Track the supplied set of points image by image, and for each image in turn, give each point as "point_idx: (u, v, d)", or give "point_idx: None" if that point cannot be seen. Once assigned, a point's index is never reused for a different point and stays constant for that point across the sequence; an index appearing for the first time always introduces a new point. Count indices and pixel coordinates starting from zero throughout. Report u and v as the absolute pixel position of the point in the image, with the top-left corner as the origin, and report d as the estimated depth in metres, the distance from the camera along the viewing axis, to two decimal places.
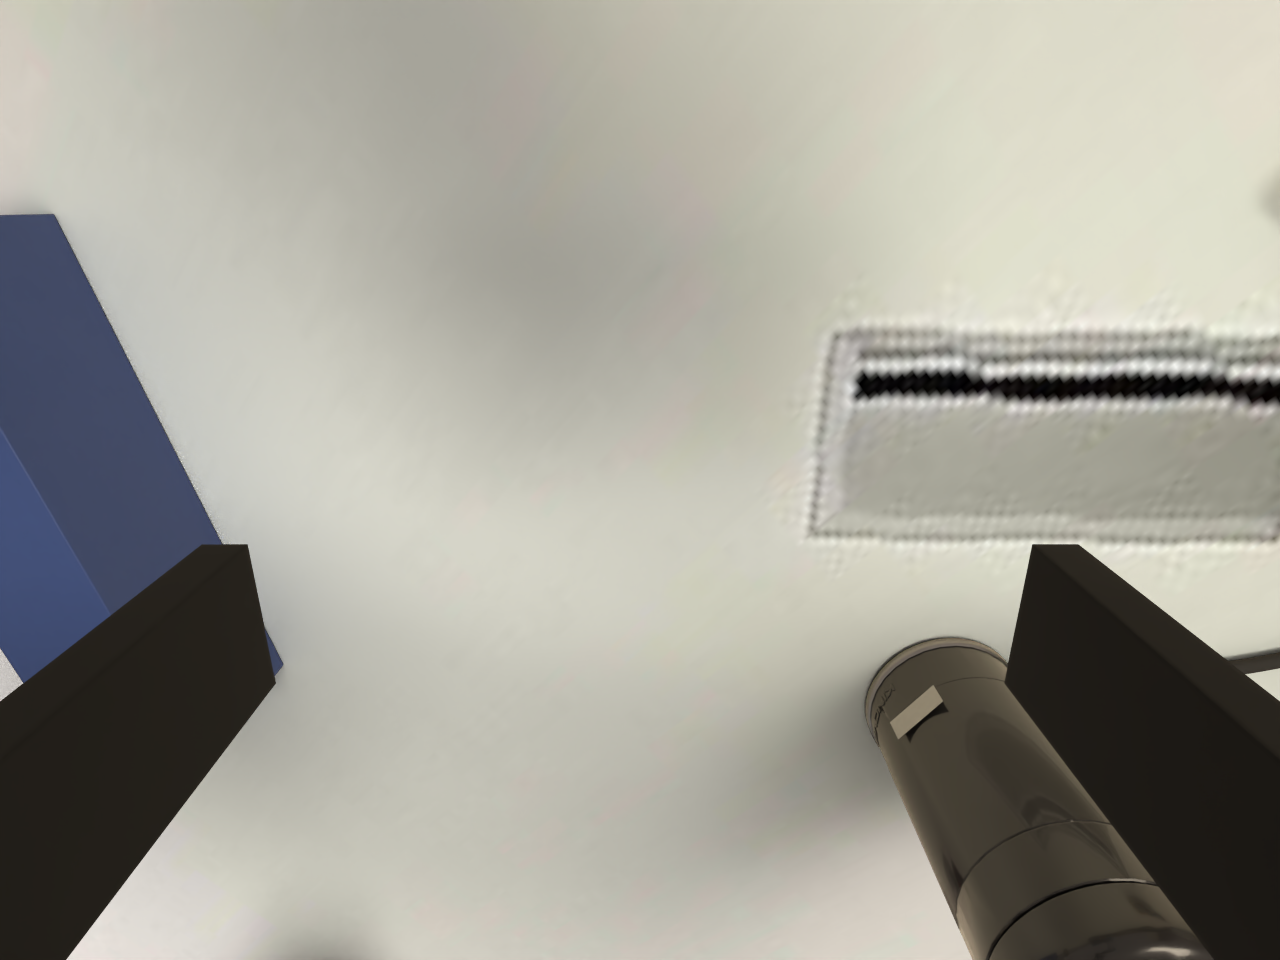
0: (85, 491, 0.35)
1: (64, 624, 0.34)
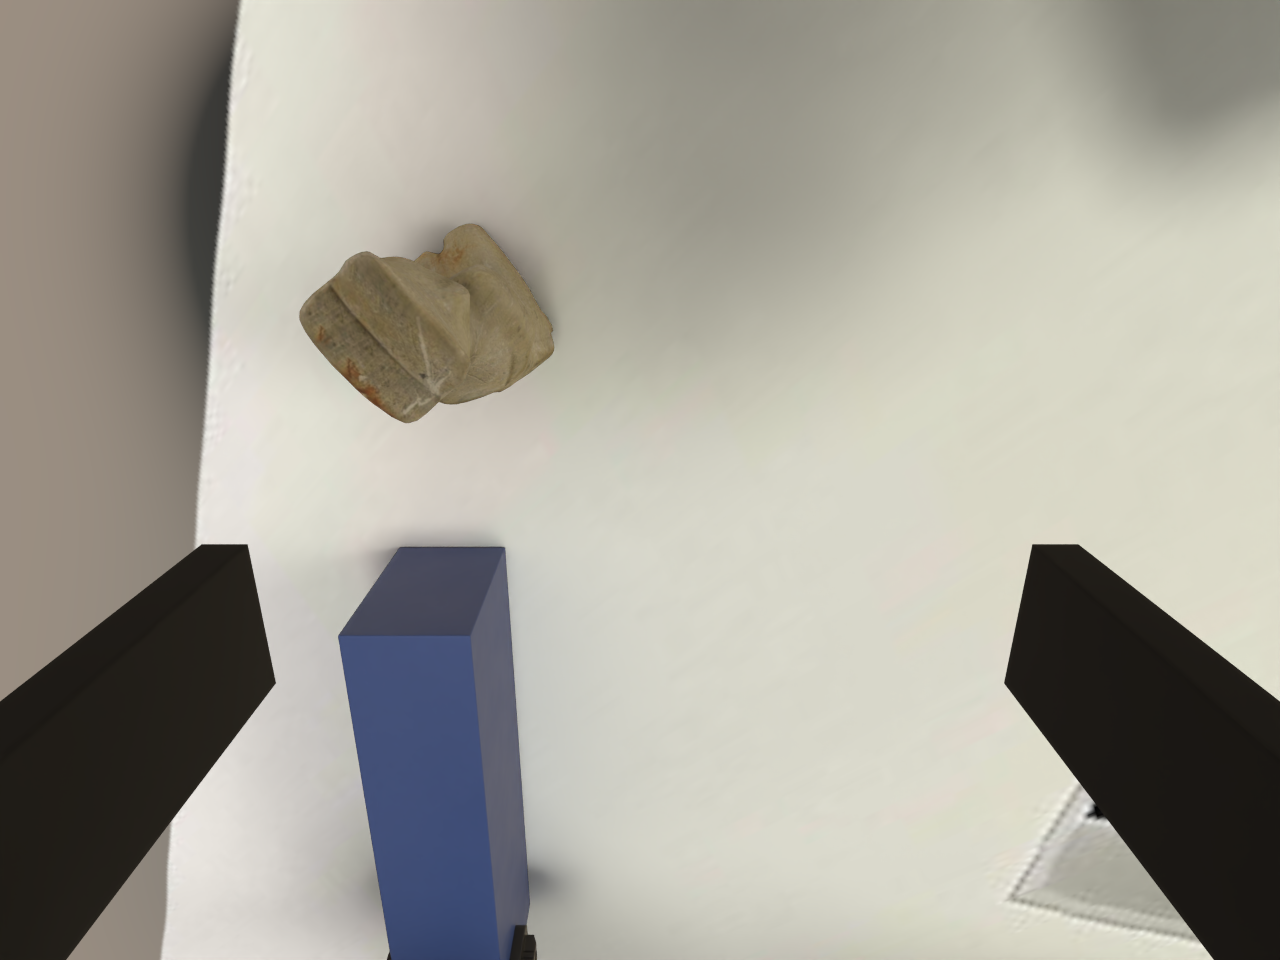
0: (498, 814, 0.40)
1: (453, 925, 0.39)
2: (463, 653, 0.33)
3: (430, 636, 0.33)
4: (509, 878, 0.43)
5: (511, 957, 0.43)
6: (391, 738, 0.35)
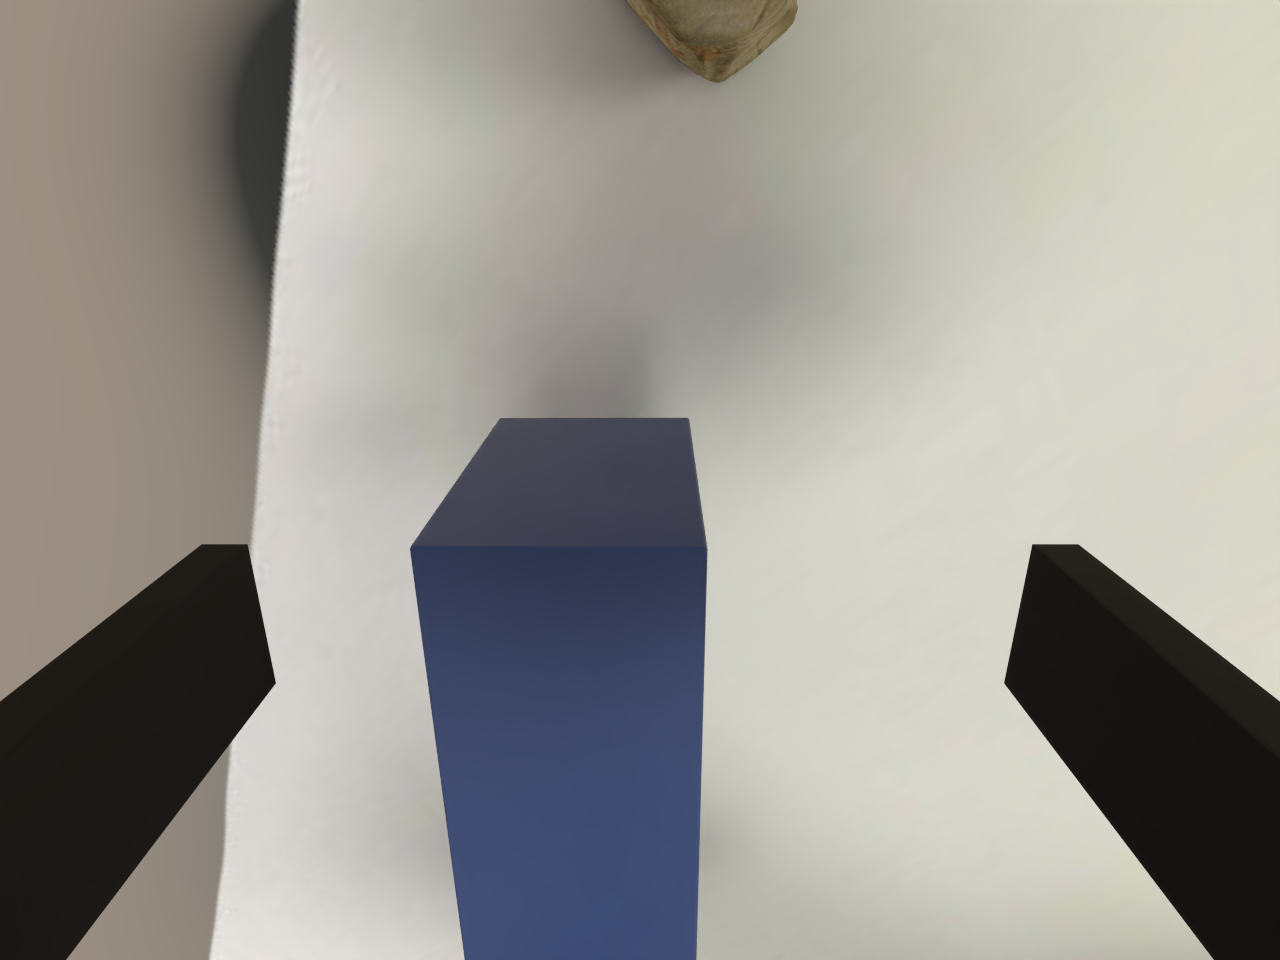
0: None
1: None
2: (687, 589, 0.15)
3: (616, 550, 0.15)
4: None
5: None
6: (515, 772, 0.17)
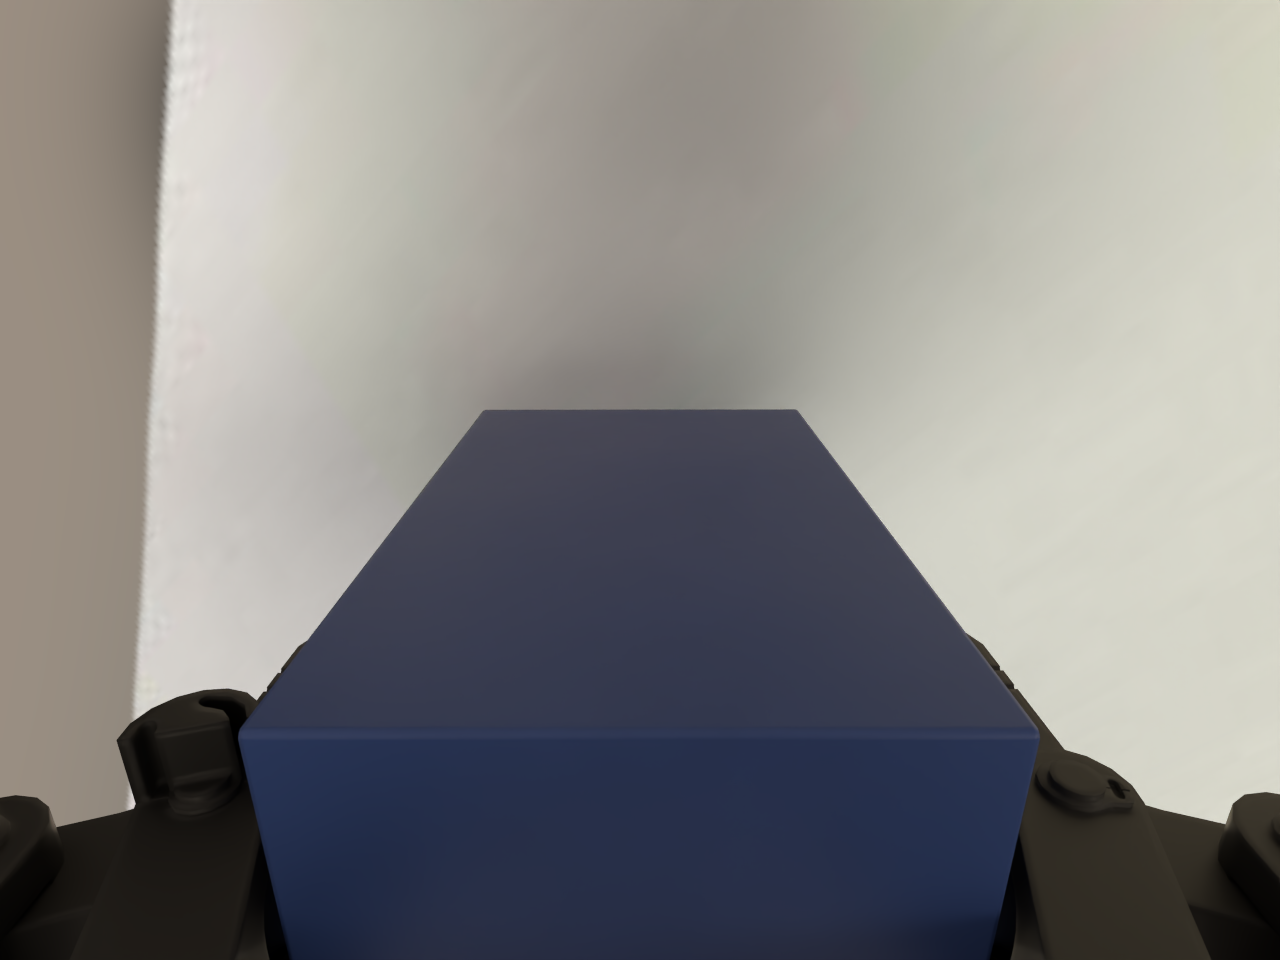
0: None
1: None
2: (973, 830, 0.06)
3: (798, 740, 0.05)
4: None
5: None
6: None
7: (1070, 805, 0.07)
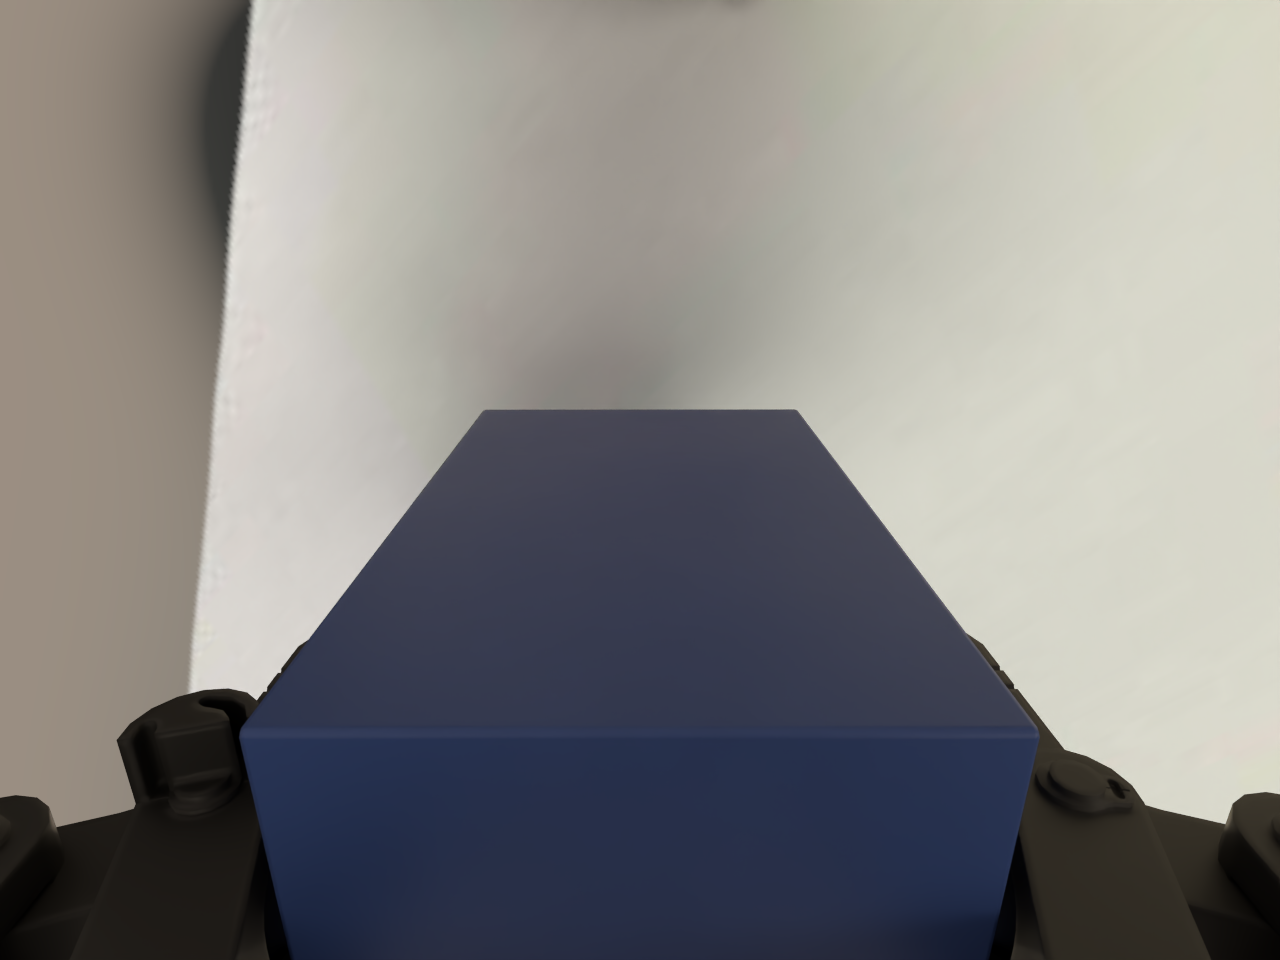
0: None
1: None
2: (973, 829, 0.06)
3: (799, 738, 0.05)
4: None
5: None
6: None
7: (1069, 805, 0.07)
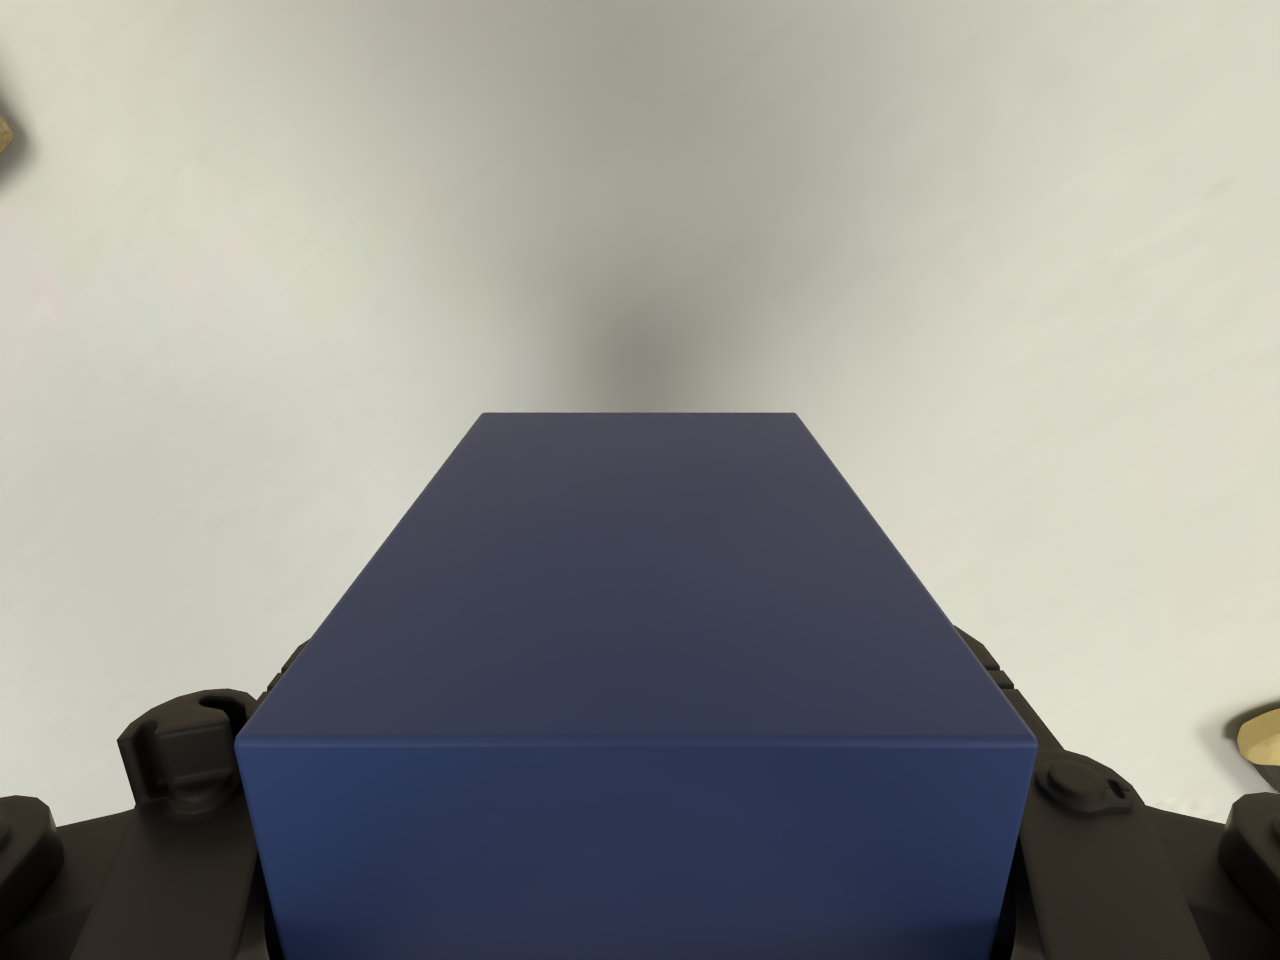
0: None
1: None
2: (971, 838, 0.06)
3: (797, 748, 0.05)
4: None
5: None
6: None
7: (1070, 805, 0.07)
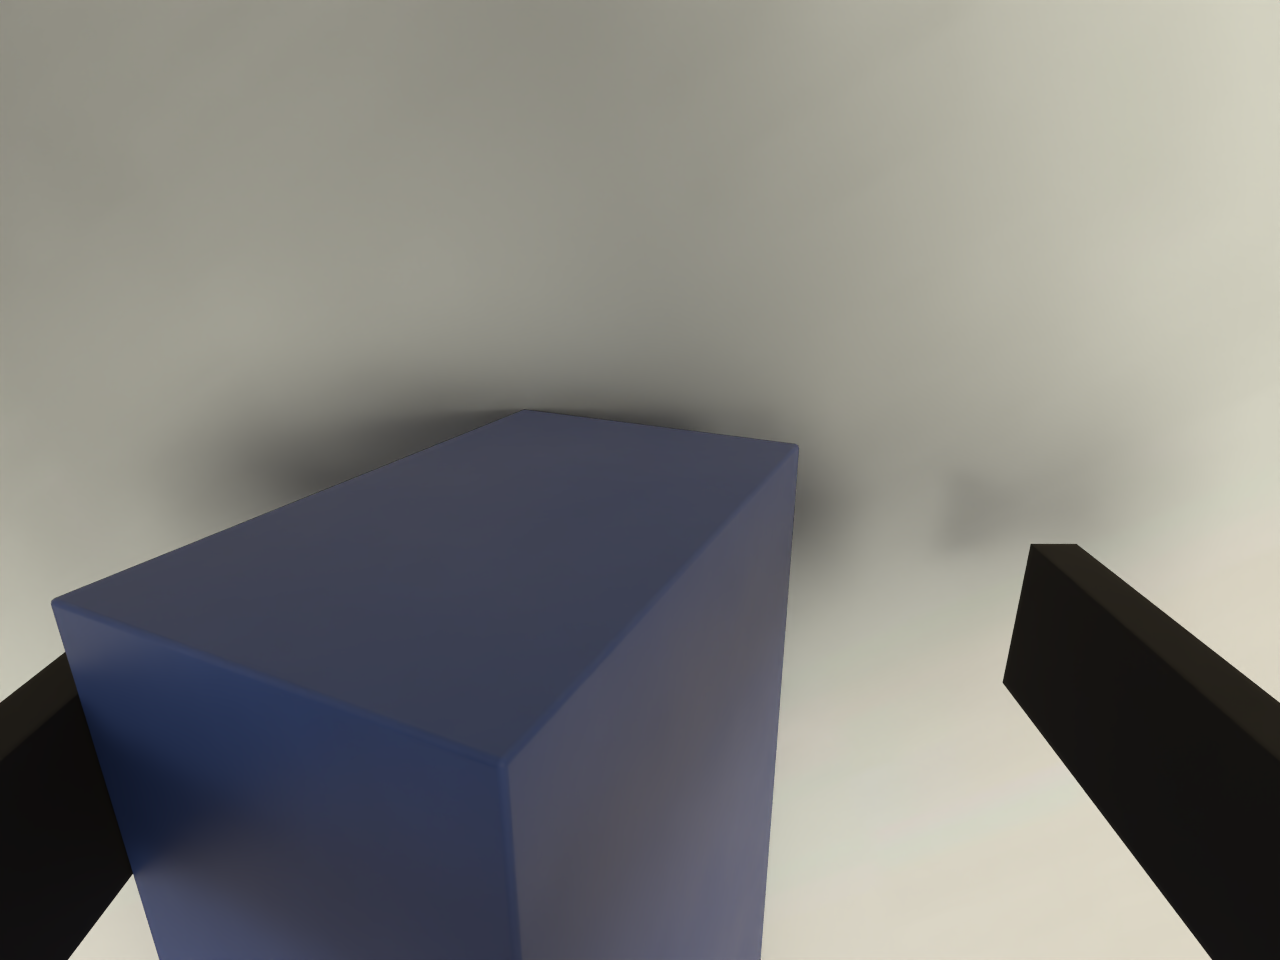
0: None
1: None
2: (471, 841, 0.06)
3: (329, 706, 0.06)
4: None
5: None
6: None
7: None
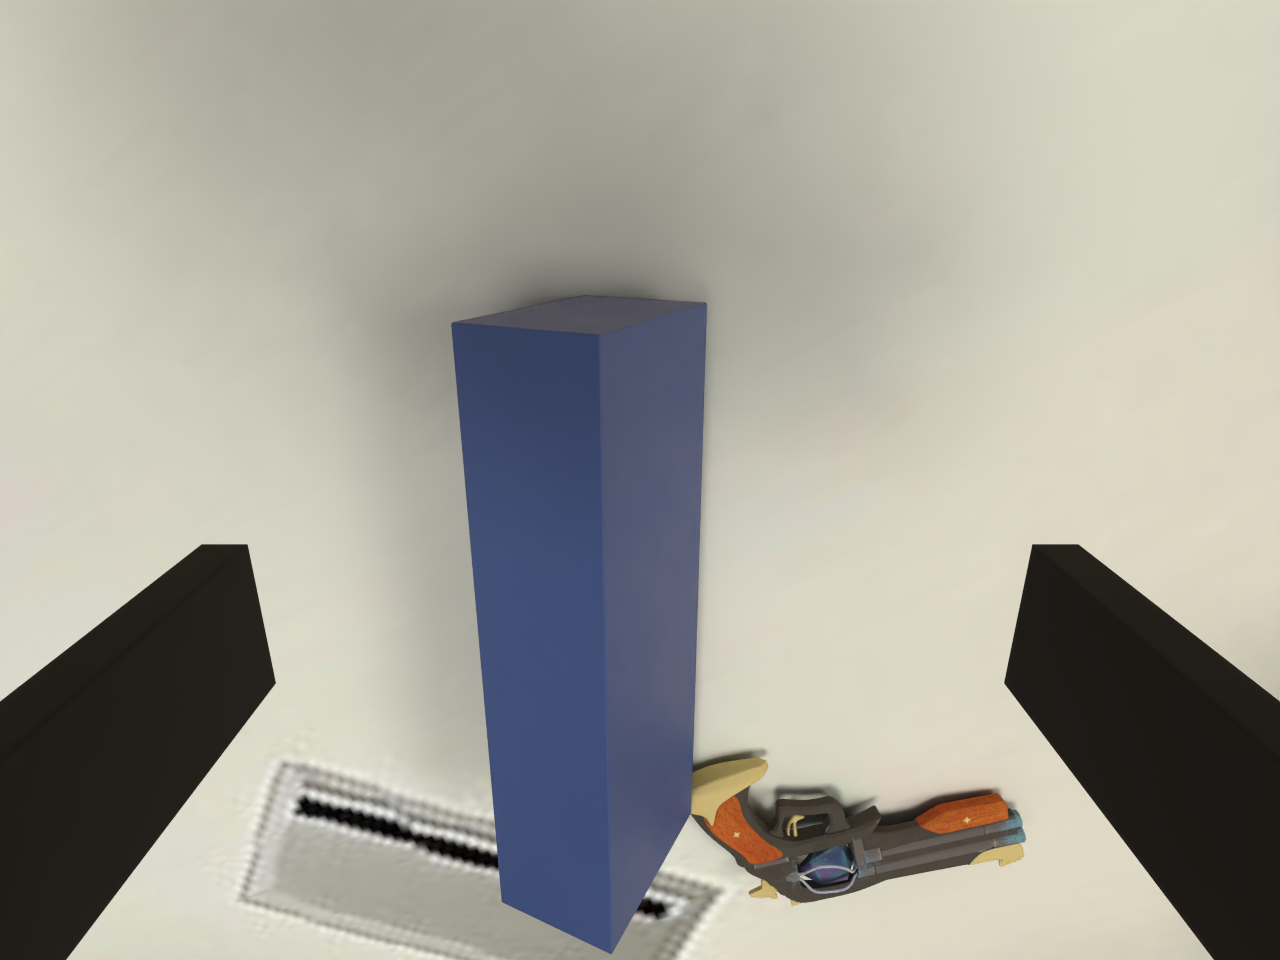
0: (633, 642, 0.29)
1: (558, 767, 0.30)
2: (590, 363, 0.24)
3: (551, 332, 0.24)
4: (649, 747, 0.33)
5: None
6: (502, 482, 0.27)
7: None
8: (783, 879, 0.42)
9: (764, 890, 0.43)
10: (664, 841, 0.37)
